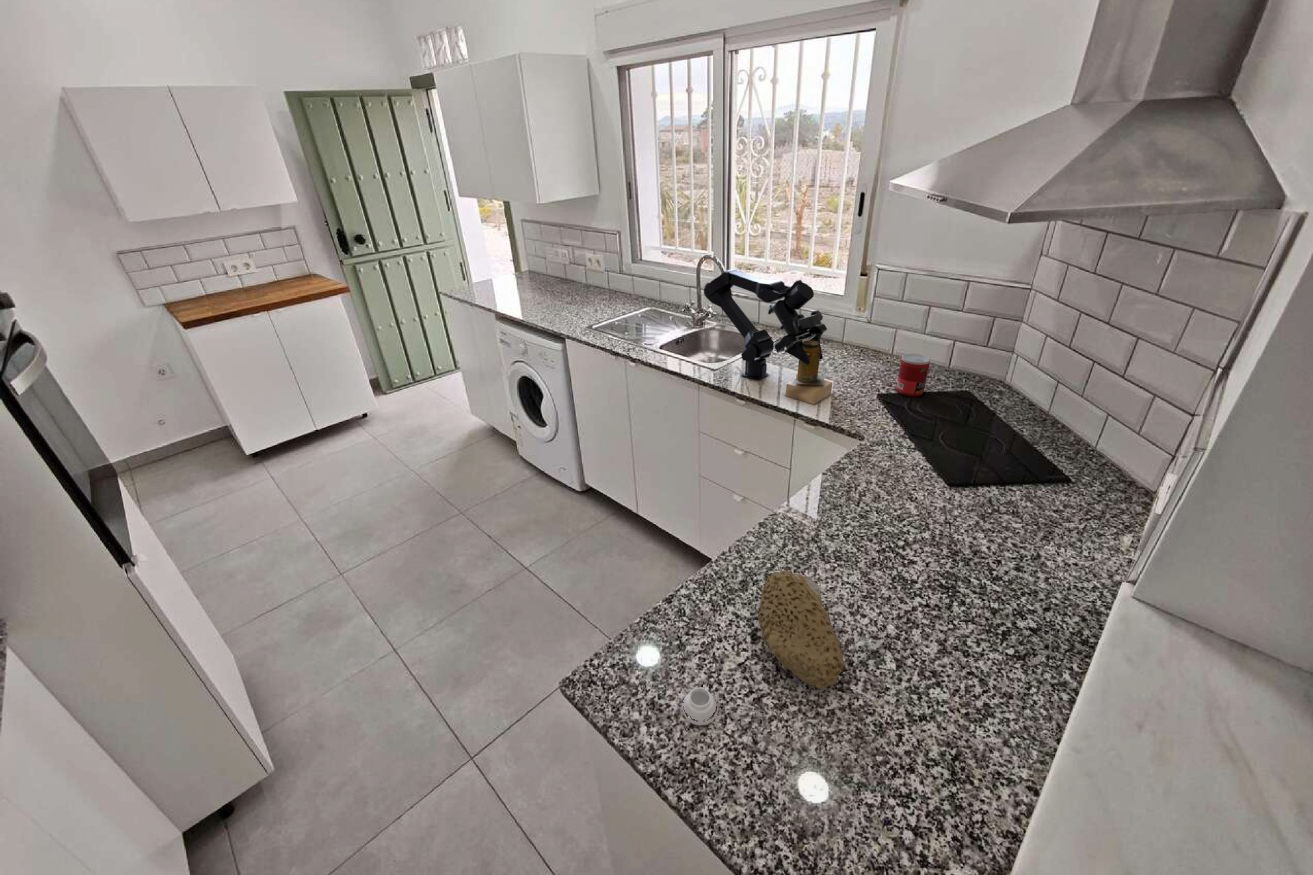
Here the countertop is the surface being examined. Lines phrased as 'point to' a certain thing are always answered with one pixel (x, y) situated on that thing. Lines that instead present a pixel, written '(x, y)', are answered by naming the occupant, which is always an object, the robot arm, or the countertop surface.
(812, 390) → the block
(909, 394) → the canned food
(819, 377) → the condiment
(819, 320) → the robot arm
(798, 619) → the sponge
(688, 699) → the white jar
